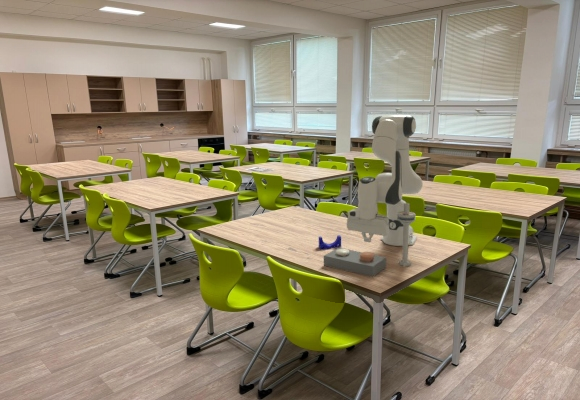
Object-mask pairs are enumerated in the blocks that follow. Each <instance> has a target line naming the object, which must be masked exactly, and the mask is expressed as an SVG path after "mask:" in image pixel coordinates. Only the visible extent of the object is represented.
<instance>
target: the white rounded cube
mask: <svg viewBox="0 0 580 400" xmlns="http://www.w3.org/2000/svg"><path fill="white" fill-rule="evenodd" d="M346 249H347V248H342V249H339V250H336V255H339V256H344V257H345V256H347V255H349V250H350V249H347V250H346Z"/></svg>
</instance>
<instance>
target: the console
mask: <svg viewBox="0 0 580 400" xmlns="http://www.w3.org/2000/svg"><path fill="white" fill-rule="evenodd" d="M339 249H343V248H342V247H336V249H334V250H331V251H330V252H327V253H326V254H324V255H323V266H325V267H328V268H333V269H337V270H342V271H346V272H350V273H354V274H359V275H363V276H367V277H370V278H371V277H372V278H374V277H375V276H376V275H378V274H379V273H381V272H382V271H383V270H384V269H386V268H387V256H381V255H376V254H374V259H373V260H372V261H370V262H367V261H363V260H360V253H362V252H361V251H356V250H351V249H347V248H345V249H346V250H349V255H347V256H345V257H344V256H339V255H336V250H339Z"/></svg>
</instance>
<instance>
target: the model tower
mask: <svg viewBox="0 0 580 400" xmlns="http://www.w3.org/2000/svg"><path fill="white" fill-rule="evenodd" d="M397 216H398V218H397V220H398V221H400V222H401V223H402V224H403V246H402V254H401V256H402V258H401V260H398V264H399V265H400V266H401V267H403V268H404V267H405V268H406V267H411V266H412V262H411V261H410V260H408V259H409V245H408V234H409V225H410V224H412V223H413V222H415V221H416V213H415V212H413V211H410V203H409V202H406V203H404V211H402V212H398V213H397Z"/></svg>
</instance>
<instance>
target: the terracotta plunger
mask: <svg viewBox="0 0 580 400" xmlns="http://www.w3.org/2000/svg"><path fill="white" fill-rule="evenodd" d="M374 255H375V254H374V252H370V251H363V252H362V253H360V260H363V261H367V262H370V261H372V260H373V259H374Z"/></svg>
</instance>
